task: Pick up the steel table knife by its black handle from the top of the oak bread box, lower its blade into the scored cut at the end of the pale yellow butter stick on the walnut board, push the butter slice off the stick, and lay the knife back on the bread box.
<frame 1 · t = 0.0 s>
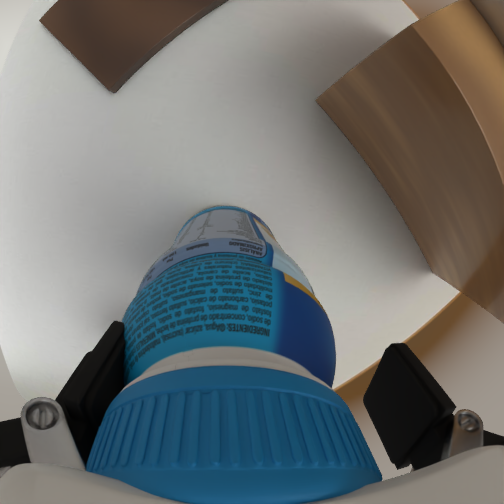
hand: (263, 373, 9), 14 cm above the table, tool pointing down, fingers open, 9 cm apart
blue jar: (225, 254, 22), on the table, touching gripper
bread box: (428, 155, 20), on the table
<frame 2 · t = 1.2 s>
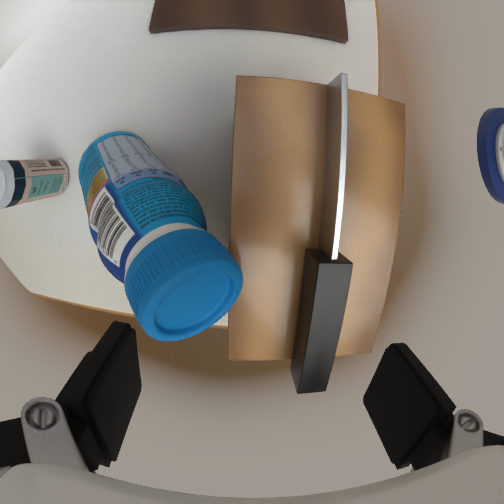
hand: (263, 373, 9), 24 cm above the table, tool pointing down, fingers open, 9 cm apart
blue jar: (113, 164, 26), point 3 cm above the table, touching bread box
bread box: (284, 207, 31), on the table
beige cylinder: (57, 177, 28), on the table
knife: (322, 233, 18), point 14 cm above the table, touching bread box
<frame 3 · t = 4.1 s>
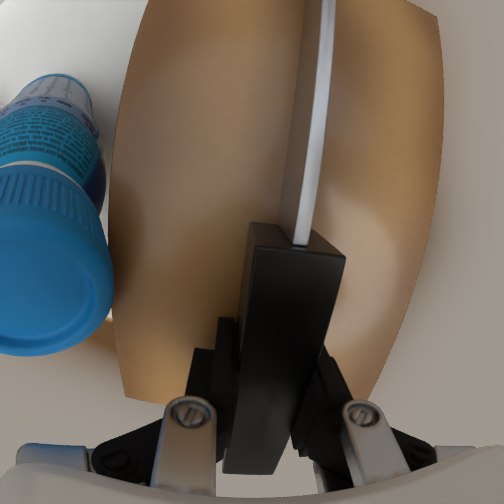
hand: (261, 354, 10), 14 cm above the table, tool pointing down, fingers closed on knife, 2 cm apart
blue jar: (49, 116, 17), point 3 cm above the table, touching bread box
bread box: (258, 180, 22), on the table
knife: (287, 194, 9), point 14 cm above the table, touching bread box, gripper
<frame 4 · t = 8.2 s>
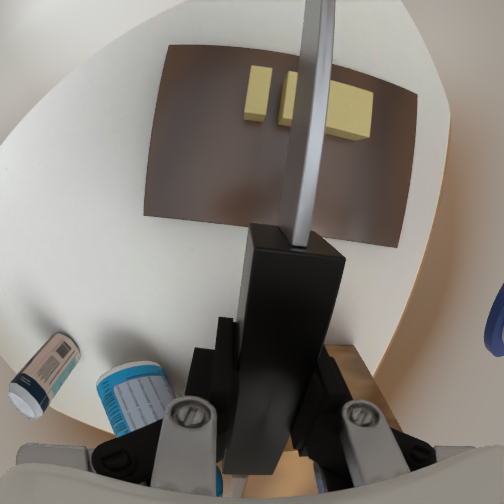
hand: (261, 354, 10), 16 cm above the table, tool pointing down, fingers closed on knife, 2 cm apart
blue jar: (127, 374, 26), point 3 cm above the table, touching bread box
board: (291, 140, 23), on the table
bread box: (286, 404, 31), on the table
butter stick: (320, 110, 21), point 1 cm above the table, touching board
beige cylinder: (67, 346, 28), on the table
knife: (287, 195, 9), point 16 cm above the table, touching gripper
butter slice: (256, 99, 21), point 1 cm above the table, touching board
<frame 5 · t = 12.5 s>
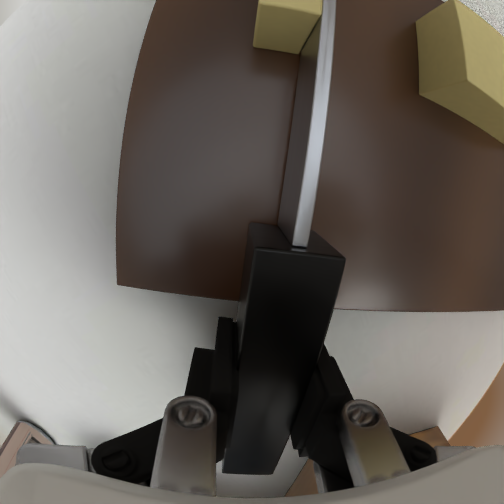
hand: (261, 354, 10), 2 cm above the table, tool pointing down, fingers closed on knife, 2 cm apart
board: (427, 131, 10), on the table
bread box: (340, 492, 18), on the table
butter stick: (472, 87, 8), point 1 cm above the table, touching board
beige cylinder: (39, 433, 15), on the table
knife: (287, 195, 9), point 1 cm above the table, touching butter slice, gripper
butter slice: (281, 10, 7), point 1 cm above the table, touching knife
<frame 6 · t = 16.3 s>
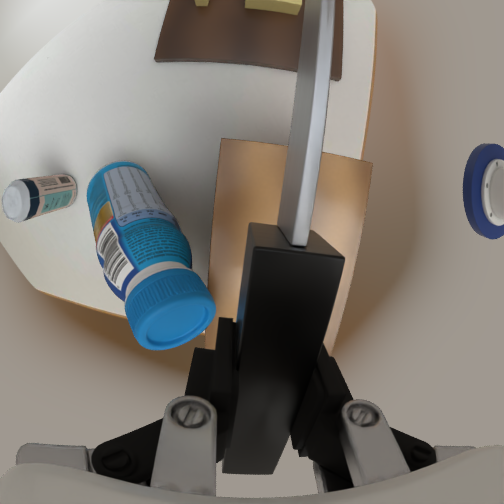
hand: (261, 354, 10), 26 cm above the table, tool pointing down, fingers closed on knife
blue jar: (117, 188, 30), point 3 cm above the table, touching bread box
board: (254, 18, 27), on the table
bread box: (266, 235, 36), on the table
butter stick: (272, 1, 25), point 1 cm above the table, touching board
beige cylinder: (66, 190, 32), on the table
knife: (287, 195, 9), point 26 cm above the table, touching gripper
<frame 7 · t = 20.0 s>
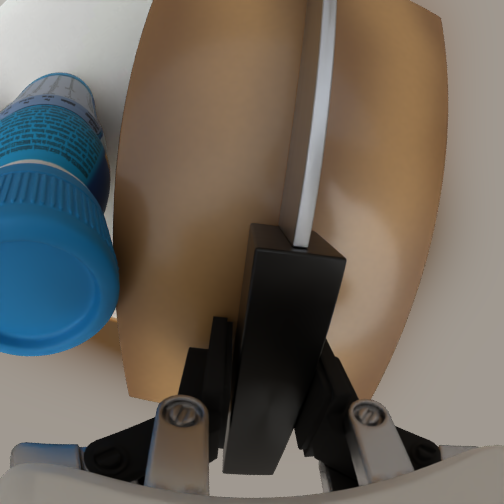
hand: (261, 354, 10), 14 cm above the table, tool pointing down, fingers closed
blue jar: (52, 115, 17), point 3 cm above the table, touching bread box
bread box: (261, 179, 22), on the table
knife: (288, 196, 9), point 14 cm above the table, touching bread box
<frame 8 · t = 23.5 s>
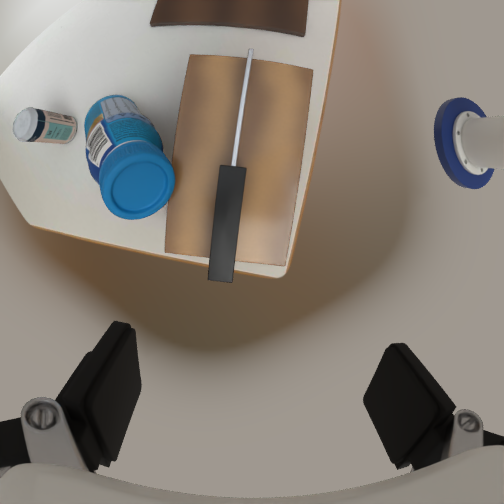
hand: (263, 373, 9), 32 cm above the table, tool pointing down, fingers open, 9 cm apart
blue jar: (111, 120, 32), point 3 cm above the table, touching bread box
bread box: (237, 161, 38), on the table
beige cylinder: (67, 130, 34), on the table
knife: (235, 156, 24), point 14 cm above the table, touching bread box
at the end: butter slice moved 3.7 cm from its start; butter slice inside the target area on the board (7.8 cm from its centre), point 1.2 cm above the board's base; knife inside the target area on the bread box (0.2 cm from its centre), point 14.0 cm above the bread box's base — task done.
